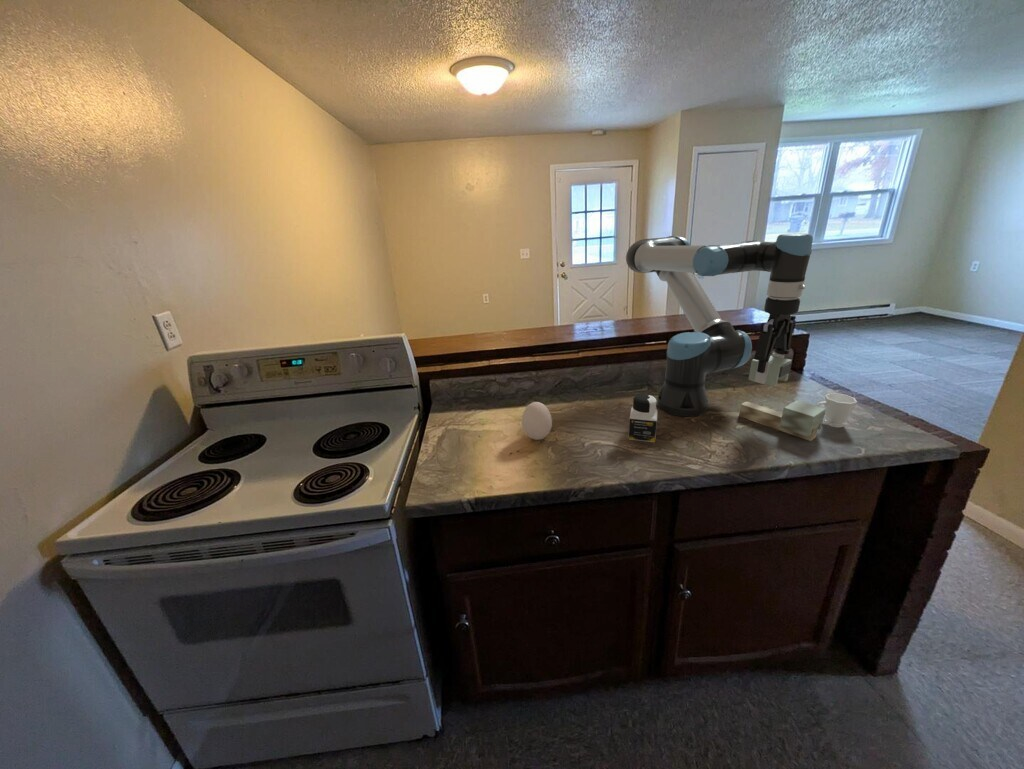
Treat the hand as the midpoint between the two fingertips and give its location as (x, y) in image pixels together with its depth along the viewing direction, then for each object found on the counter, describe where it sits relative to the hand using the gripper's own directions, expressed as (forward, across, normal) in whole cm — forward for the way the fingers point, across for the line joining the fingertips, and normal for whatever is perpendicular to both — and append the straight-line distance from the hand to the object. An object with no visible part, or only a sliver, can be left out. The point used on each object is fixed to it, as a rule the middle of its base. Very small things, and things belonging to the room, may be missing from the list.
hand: (767, 379), depth 111 cm
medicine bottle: (+14, -32, +16) cm, 38 cm away
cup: (+14, +12, -13) cm, 22 cm away
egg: (+13, -56, +34) cm, 67 cm away
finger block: (0, 0, 0) cm, 0 cm away
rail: (+13, 0, -4) cm, 14 cm away
